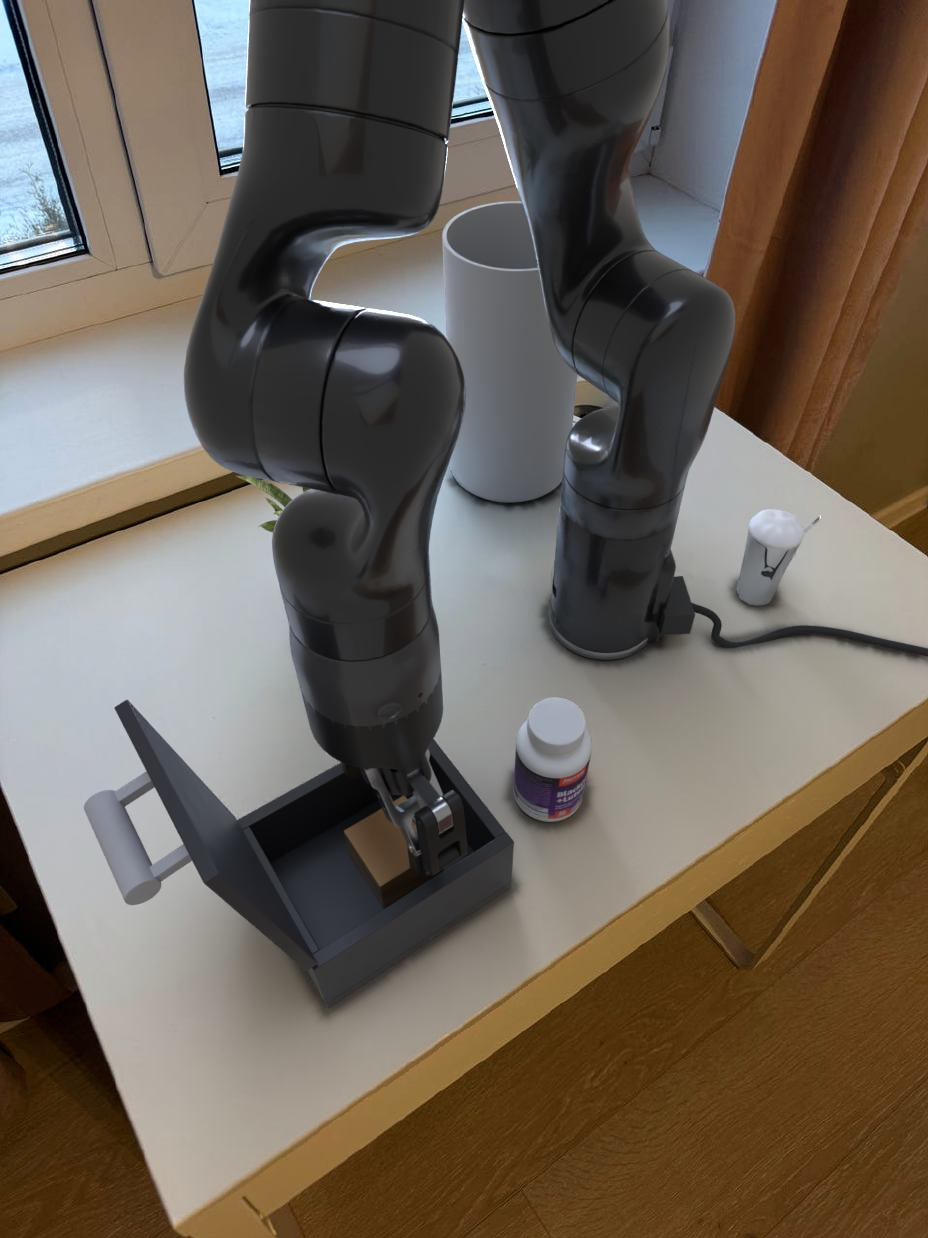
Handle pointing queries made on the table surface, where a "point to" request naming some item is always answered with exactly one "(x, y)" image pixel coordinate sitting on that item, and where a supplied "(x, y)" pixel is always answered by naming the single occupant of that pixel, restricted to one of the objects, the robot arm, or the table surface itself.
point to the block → (383, 856)
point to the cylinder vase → (504, 358)
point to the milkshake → (768, 554)
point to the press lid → (188, 840)
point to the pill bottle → (552, 760)
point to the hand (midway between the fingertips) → (392, 814)
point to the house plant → (273, 492)
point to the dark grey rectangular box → (339, 894)
